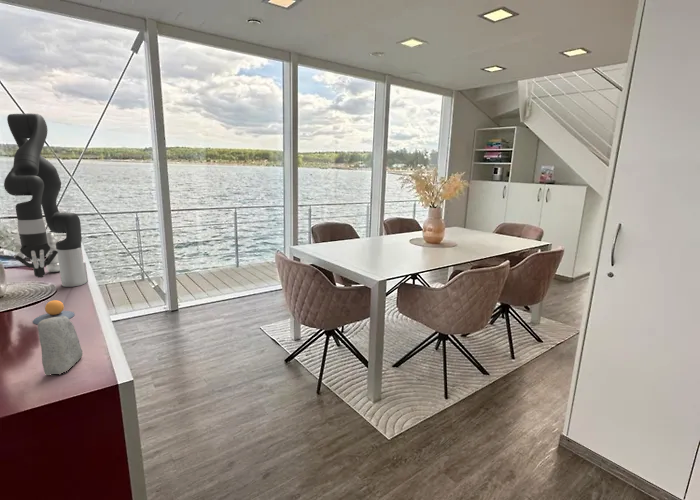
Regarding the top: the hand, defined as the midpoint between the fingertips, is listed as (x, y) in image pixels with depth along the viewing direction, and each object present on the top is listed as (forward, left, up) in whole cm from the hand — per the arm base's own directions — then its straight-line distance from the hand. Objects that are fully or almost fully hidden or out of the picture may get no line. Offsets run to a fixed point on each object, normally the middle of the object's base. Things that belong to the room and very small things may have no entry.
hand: (40, 277), depth 139 cm
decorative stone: (+33, +41, -14) cm, 54 cm away
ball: (+2, +7, -11) cm, 13 cm away
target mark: (+5, +9, -14) cm, 17 cm away
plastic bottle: (-45, -41, -14) cm, 63 cm away
